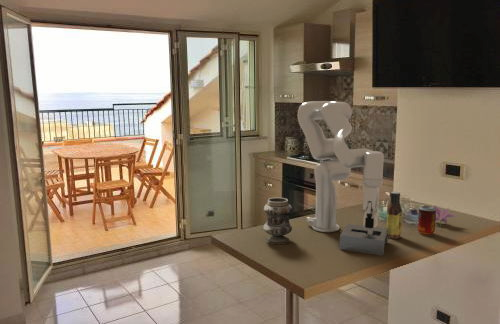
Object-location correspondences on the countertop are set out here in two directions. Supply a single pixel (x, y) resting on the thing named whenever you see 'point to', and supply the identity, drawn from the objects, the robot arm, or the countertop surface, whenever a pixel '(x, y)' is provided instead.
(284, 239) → the apothecary jar
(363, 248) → the slotted grey box
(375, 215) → the peg
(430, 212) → the soda can
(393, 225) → the sauce bottle
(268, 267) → the countertop surface
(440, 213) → the lily
